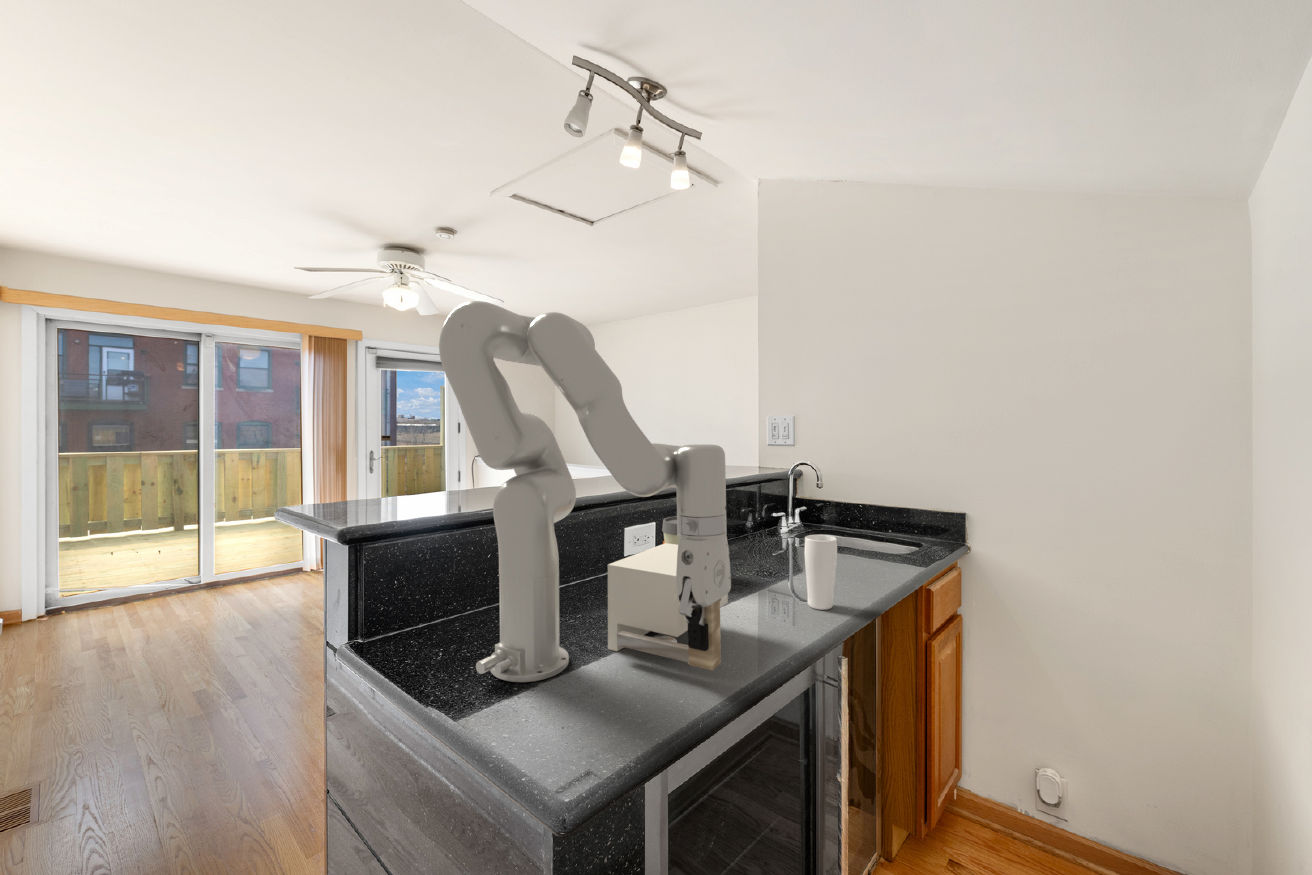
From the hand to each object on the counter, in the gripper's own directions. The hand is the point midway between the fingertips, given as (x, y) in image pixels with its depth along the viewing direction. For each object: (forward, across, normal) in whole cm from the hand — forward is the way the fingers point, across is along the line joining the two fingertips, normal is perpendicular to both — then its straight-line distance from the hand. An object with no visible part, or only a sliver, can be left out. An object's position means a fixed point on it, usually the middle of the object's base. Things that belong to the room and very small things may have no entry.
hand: (703, 643), depth 85 cm
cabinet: (+6, +12, +13) cm, 19 cm away
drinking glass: (+7, +44, -6) cm, 45 cm away
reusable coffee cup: (+6, +48, +29) cm, 57 cm away
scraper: (+3, 0, +7) cm, 8 cm away
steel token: (+6, +8, +12) cm, 16 cm away
